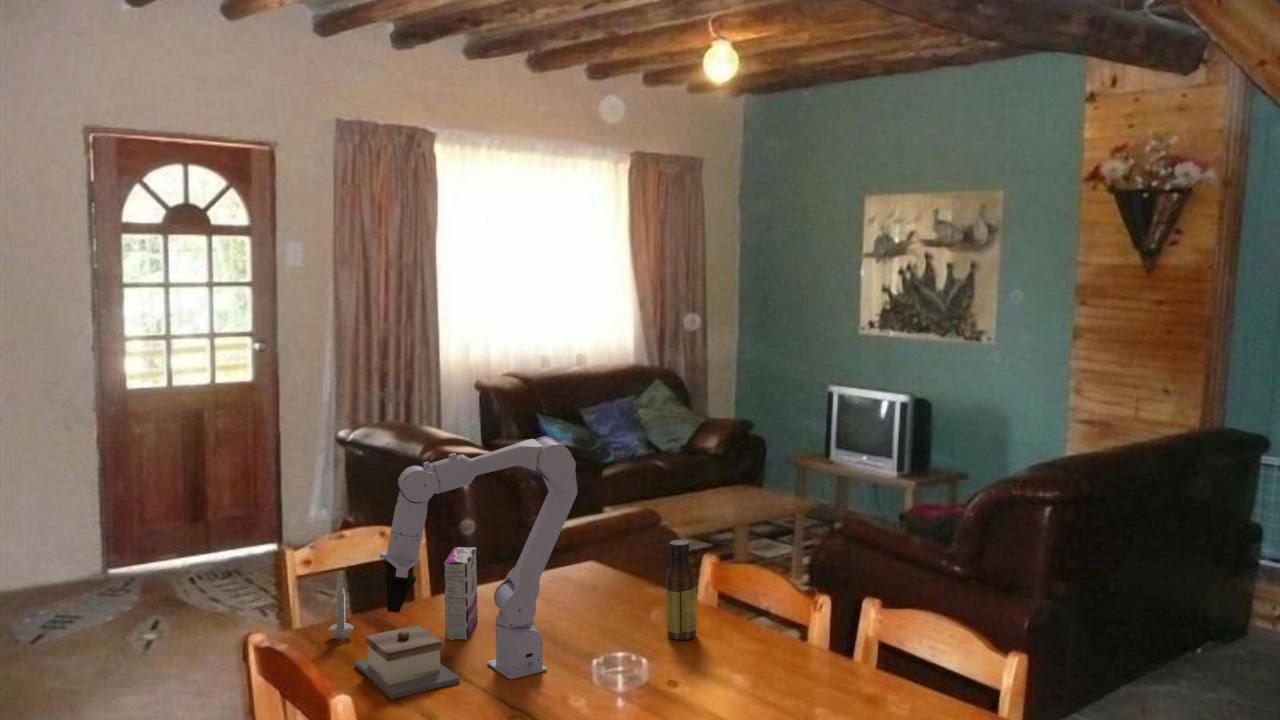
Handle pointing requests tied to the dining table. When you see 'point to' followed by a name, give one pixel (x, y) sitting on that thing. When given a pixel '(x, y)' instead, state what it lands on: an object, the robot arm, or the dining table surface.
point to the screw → (340, 614)
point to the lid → (403, 643)
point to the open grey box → (404, 666)
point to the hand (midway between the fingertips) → (392, 605)
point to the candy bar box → (460, 593)
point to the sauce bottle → (680, 593)
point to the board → (410, 681)
